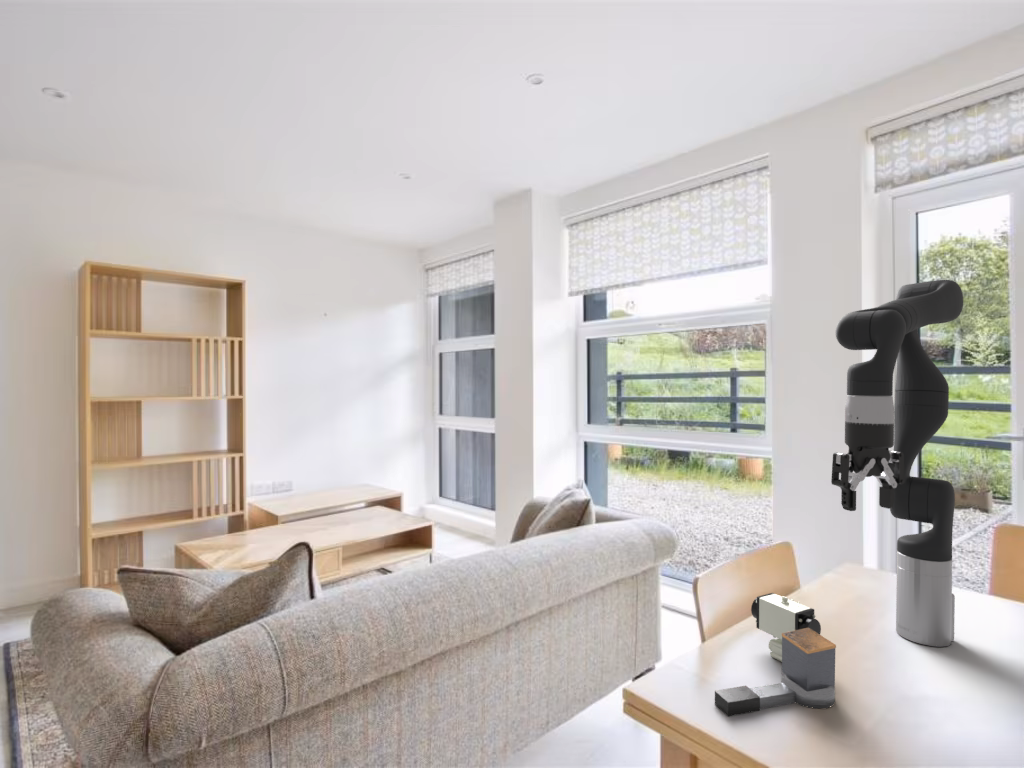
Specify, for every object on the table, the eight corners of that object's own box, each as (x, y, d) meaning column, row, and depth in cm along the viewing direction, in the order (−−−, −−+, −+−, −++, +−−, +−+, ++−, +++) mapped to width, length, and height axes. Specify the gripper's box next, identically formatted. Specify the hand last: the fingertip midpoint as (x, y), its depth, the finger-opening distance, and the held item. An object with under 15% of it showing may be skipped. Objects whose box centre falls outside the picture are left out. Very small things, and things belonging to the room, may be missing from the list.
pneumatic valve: (804, 677, 98) (805, 611, 98) (750, 648, 108) (750, 588, 108) (824, 669, 100) (824, 605, 100) (768, 642, 111) (769, 583, 111)
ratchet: (808, 678, 97) (808, 645, 97) (846, 704, 90) (846, 668, 90) (706, 696, 92) (706, 660, 92) (737, 725, 84) (738, 686, 84)
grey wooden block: (835, 685, 90) (835, 644, 90) (807, 691, 89) (807, 651, 88) (808, 665, 96) (808, 627, 95) (781, 671, 94) (781, 633, 94)
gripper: (855, 422, 94) (854, 516, 94) (919, 421, 97) (918, 511, 98) (820, 419, 101) (819, 506, 101) (880, 418, 105) (879, 502, 105)
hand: (867, 508), depth 99 cm, fingers open, 8 cm apart
